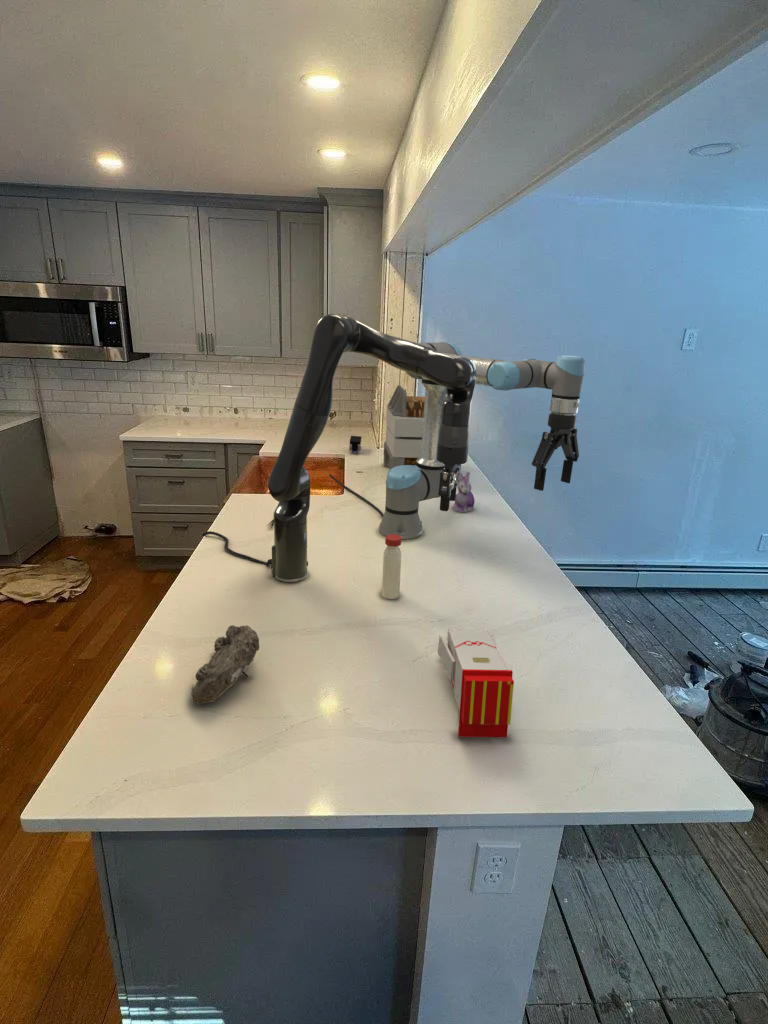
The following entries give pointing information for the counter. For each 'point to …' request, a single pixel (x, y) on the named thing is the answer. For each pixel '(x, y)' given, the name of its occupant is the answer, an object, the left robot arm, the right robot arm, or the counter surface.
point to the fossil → (225, 663)
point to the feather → (272, 523)
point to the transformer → (403, 429)
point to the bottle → (391, 572)
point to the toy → (478, 682)
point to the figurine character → (355, 444)
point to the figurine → (464, 495)
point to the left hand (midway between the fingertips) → (447, 505)
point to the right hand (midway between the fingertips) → (552, 485)
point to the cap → (393, 540)
